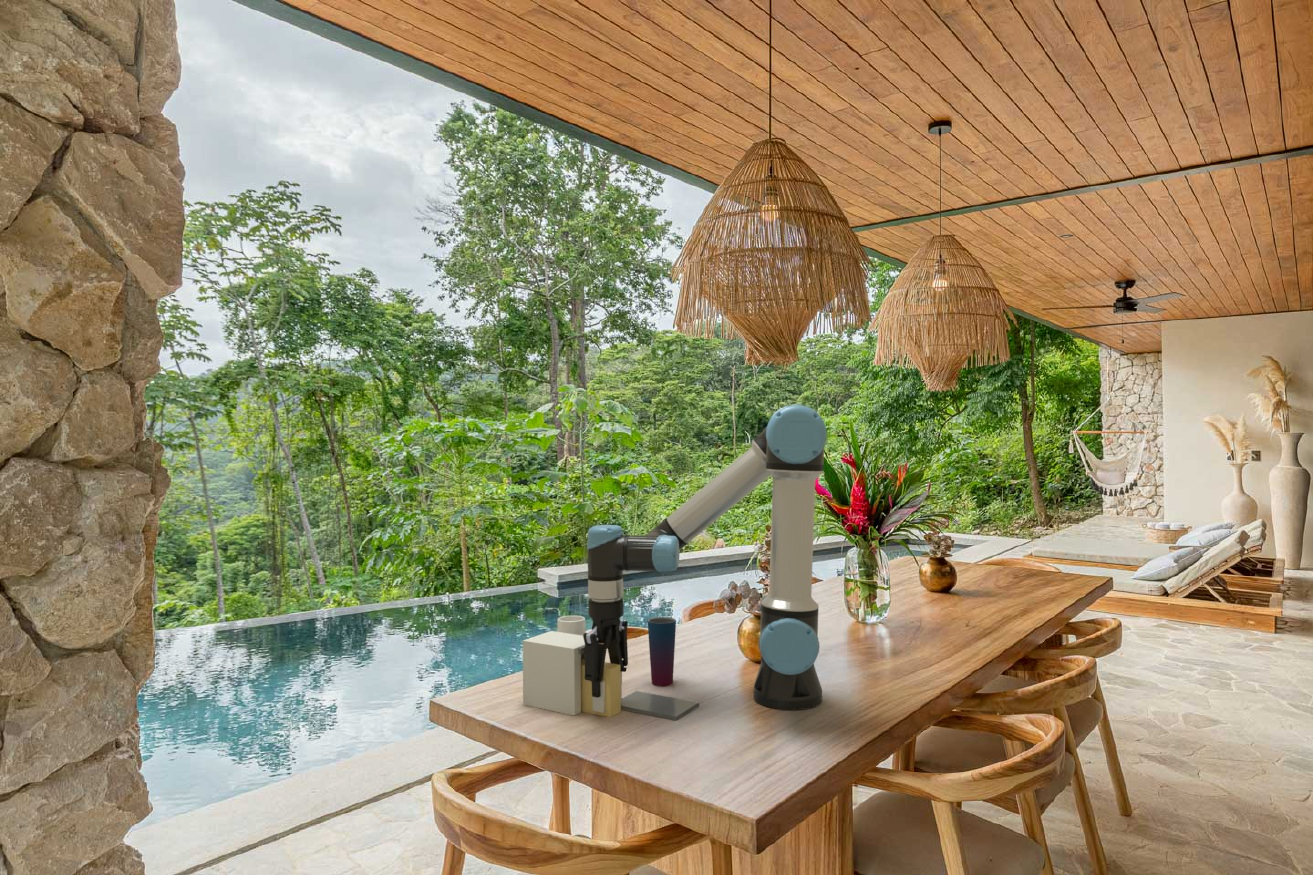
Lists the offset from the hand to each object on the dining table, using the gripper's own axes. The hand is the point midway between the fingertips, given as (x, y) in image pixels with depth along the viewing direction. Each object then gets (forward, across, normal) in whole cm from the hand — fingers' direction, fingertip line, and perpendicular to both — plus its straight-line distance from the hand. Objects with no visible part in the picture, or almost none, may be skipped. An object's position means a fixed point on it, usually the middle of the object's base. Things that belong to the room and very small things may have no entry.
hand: (607, 706), depth 166 cm
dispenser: (+1, +1, -12) cm, 12 cm away
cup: (+2, -22, 0) cm, 22 cm away
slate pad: (+1, -7, +8) cm, 11 cm away
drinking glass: (+2, -13, -20) cm, 24 cm away
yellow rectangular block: (+1, +1, -4) cm, 5 cm away
